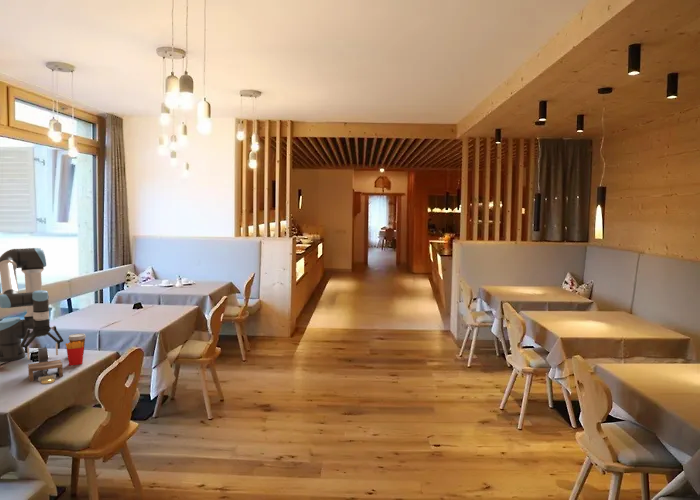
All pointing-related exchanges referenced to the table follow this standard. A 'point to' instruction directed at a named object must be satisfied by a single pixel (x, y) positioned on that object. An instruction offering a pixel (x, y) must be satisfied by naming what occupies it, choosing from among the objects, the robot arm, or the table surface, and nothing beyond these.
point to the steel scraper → (44, 358)
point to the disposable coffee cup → (77, 338)
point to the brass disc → (47, 380)
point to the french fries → (75, 353)
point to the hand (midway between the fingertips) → (42, 356)
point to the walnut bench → (45, 367)
